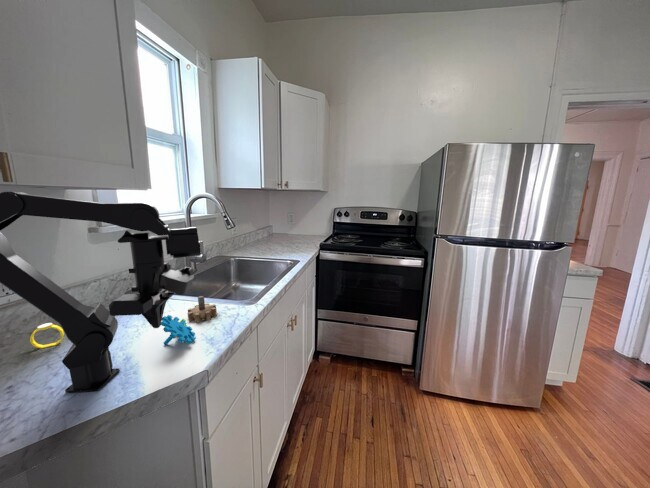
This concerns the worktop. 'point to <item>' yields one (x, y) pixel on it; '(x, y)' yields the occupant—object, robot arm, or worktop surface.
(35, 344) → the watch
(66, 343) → the worktop surface
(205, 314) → the gear
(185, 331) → the gear
